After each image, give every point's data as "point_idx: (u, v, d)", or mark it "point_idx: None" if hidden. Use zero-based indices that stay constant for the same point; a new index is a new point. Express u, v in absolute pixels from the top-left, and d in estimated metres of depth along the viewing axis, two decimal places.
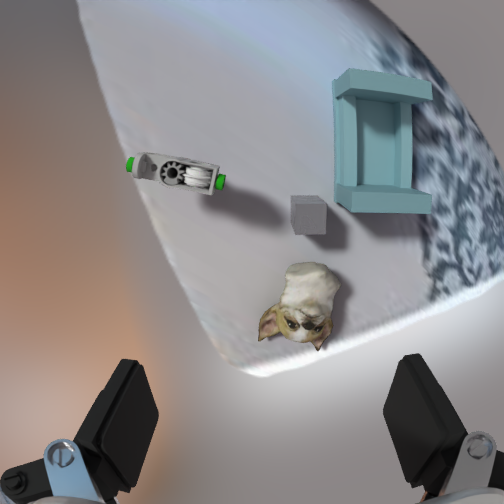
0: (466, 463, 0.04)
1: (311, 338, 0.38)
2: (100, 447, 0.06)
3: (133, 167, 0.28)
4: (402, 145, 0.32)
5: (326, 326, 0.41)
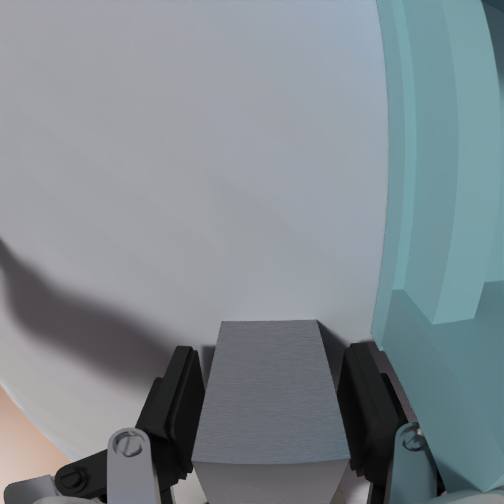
0: (405, 458, 0.05)
1: None
2: (169, 432, 0.07)
3: None
4: None
5: None
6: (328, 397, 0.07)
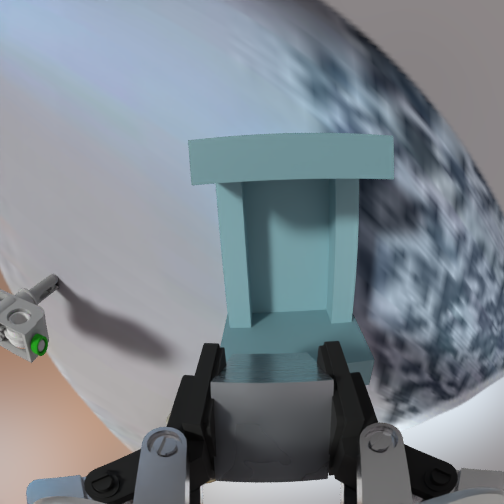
0: (373, 460, 0.05)
1: (207, 482, 0.25)
2: (204, 429, 0.07)
3: None
4: (336, 254, 0.20)
5: None
6: (315, 367, 0.10)
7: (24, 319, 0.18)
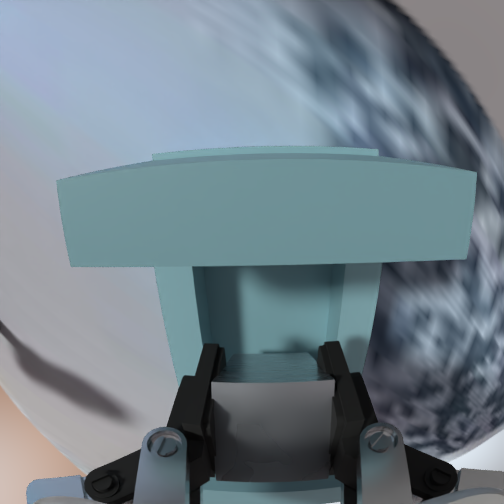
0: (373, 460, 0.05)
1: None
2: (205, 429, 0.07)
3: None
4: (339, 338, 0.13)
5: None
6: (315, 367, 0.10)
7: None
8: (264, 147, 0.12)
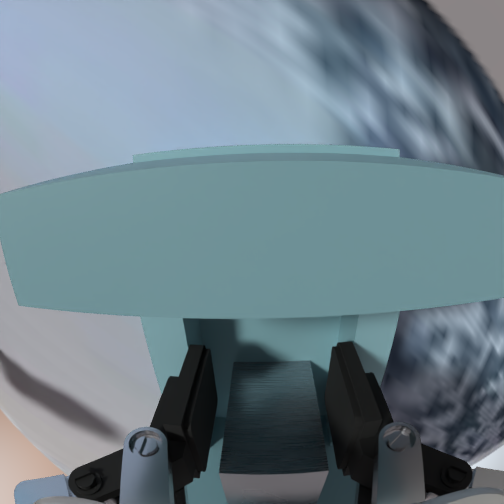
0: (390, 459, 0.05)
1: None
2: (186, 430, 0.07)
3: None
4: None
5: None
6: (315, 426, 0.09)
7: None
8: (265, 145, 0.10)
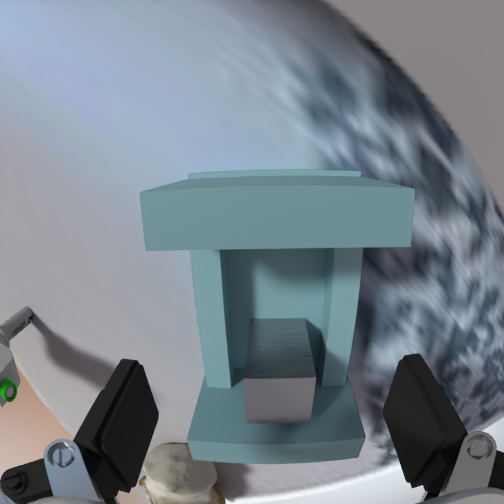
0: (466, 463, 0.04)
1: None
2: (100, 447, 0.06)
3: None
4: (331, 317, 0.17)
5: (214, 502, 0.25)
6: (307, 353, 0.15)
7: None
8: (274, 171, 0.17)
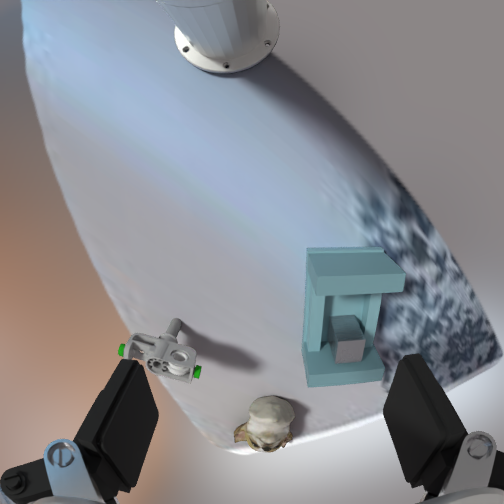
0: (466, 463, 0.04)
1: (271, 451, 0.42)
2: (100, 447, 0.06)
3: (124, 356, 0.32)
4: (368, 314, 0.37)
5: (286, 437, 0.45)
6: (359, 330, 0.35)
7: (178, 356, 0.35)
8: (347, 250, 0.36)
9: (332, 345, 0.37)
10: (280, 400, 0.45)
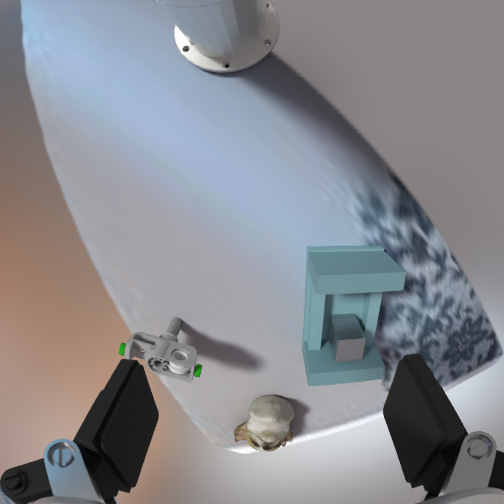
0: (466, 463, 0.04)
1: (272, 450, 0.42)
2: (100, 447, 0.06)
3: (125, 355, 0.33)
4: (368, 313, 0.37)
5: (286, 436, 0.46)
6: (360, 329, 0.35)
7: (179, 355, 0.35)
8: (347, 249, 0.36)
9: (332, 344, 0.37)
10: (280, 399, 0.45)
